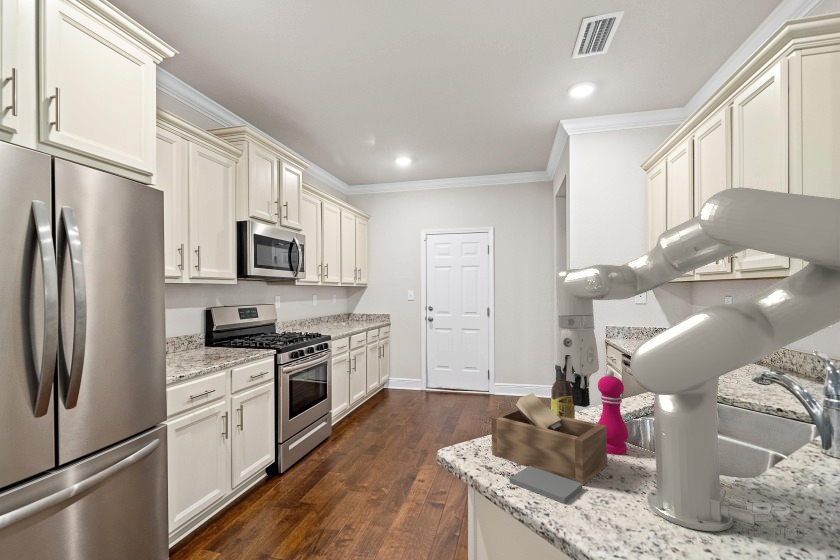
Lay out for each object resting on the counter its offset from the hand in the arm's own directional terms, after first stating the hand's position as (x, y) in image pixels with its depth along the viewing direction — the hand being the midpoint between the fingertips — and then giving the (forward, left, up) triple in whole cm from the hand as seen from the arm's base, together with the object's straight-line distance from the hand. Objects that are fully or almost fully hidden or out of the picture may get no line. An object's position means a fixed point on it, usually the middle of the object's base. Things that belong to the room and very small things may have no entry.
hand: (581, 405), depth 87 cm
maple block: (+12, 0, -5) cm, 12 cm away
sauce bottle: (+13, -17, -15) cm, 26 cm away
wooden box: (+9, 0, -14) cm, 17 cm away
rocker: (+9, 0, -8) cm, 12 cm away
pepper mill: (0, -17, -15) cm, 23 cm away
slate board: (+3, +12, -15) cm, 19 cm away
